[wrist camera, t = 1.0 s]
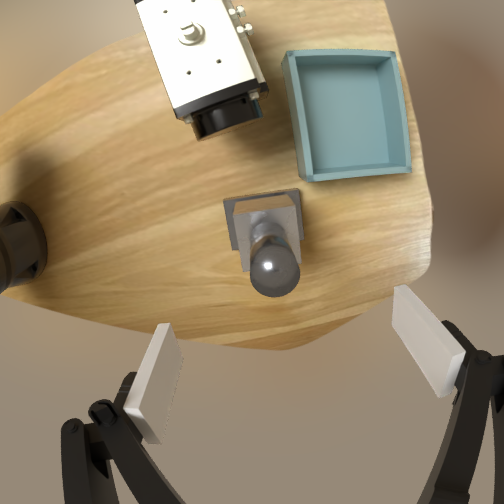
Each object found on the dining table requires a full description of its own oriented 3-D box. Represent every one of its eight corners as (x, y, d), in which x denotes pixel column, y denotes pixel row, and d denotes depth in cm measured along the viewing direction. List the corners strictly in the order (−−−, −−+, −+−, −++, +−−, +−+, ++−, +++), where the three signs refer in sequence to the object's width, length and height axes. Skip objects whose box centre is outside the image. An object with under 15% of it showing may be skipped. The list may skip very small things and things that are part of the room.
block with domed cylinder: (244, 250, 40) (241, 315, 25) (235, 202, 38) (226, 242, 23) (293, 243, 40) (318, 303, 25) (287, 194, 38) (312, 229, 23)
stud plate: (232, 246, 43) (228, 272, 35) (223, 198, 41) (217, 213, 32) (302, 236, 43) (314, 259, 34) (296, 187, 40) (309, 199, 32)
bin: (299, 176, 40) (307, 182, 34) (281, 63, 34) (286, 50, 28) (391, 167, 39) (411, 172, 33) (377, 61, 33) (394, 51, 28)
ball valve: (271, 121, 37) (288, 104, 20) (210, 142, 38) (180, 143, 21) (226, 11, 31) (212, -59, 14) (168, 32, 32) (121, -24, 15)
